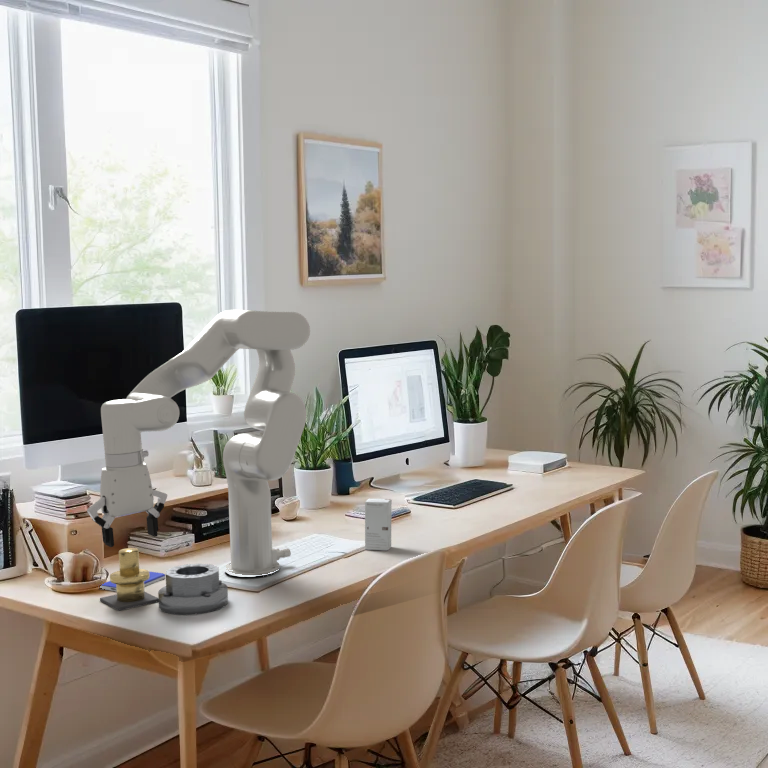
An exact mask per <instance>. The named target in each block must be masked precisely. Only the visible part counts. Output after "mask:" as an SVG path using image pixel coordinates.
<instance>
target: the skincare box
mask: <svg viewBox="0 0 768 768" xmlns="http://www.w3.org/2000/svg"><path fill="white" fill-rule="evenodd" d="M392 500H393V499H391V498H389V499H388V498H370V497H369V498H368V499H366V500H365V502H364V550H367V551H368V550H369V551H370V550H371V551H385V552H386V551H389V550H390V549H391V547H392Z"/></svg>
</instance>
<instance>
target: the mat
mask: <svg viewBox="0 0 768 768" xmlns="http://www.w3.org/2000/svg"><path fill="white" fill-rule="evenodd" d="M144 594H145V597H144V598H143V599H142V600H139V601H135V602H120V601H118V600H117V593H116V594H113V595H108V596H104V597H103V596H102V597H99V601H100V602H102V603H104V604H105V605H107V606H109V607H111V608H112V609H115V610H116V611H123V610H127V609H128V610H129V609H132V608H137V607H141V606H145V605H146V606H147V605H150V604H153V603H159V598H158V597H157V596H155V595H152V594H151V593H148V592H147V591H144Z"/></svg>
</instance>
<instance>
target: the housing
mask: <svg viewBox="0 0 768 768" xmlns="http://www.w3.org/2000/svg"><path fill="white" fill-rule="evenodd" d="M219 570H220V568H219V566H217V565H214V564H212V563H211V564H210V563H209V564H208V563H187V564H181V565H177V566H173V567H170V568H169V569H166V571H165V586H163V587H161V588H160V589H158V593H157V595H158V597H157V598H159V602H158V609H159V610H160V611H161V612H164V613H166V614H171V615H179V616H185V615H186V616H187V615H188V616H189V615H190V616H191V615H201V614H207V613H212V612H215V611H218V610H220V609H222V608H224V607H226V606H227V605H228V603H229V591H228V590H229V589H228V585H227V584H226V583H224V582H222V580H220V574H219V573H220V571H219Z"/></svg>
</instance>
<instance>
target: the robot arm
mask: <svg viewBox="0 0 768 768" xmlns="http://www.w3.org/2000/svg"><path fill="white" fill-rule="evenodd" d="M310 335H311V327H310V323H309V322H308V319H307V318H306V317H305V316H304V315H303V314H301V313H299V312H295V311H268V310H267V311H264V310H252V309H251V310H248V309H241V310H240V309H228V310H224V311H222V312H220V313H218V314H217V315H216V316H215V317H214V318H213V319H212V320H211V321H210V322H209V323H208V324H207V325H206V326H205V327H204V328H203V329H202V331H201V332H200V333H198V335H197V336H196V337H195V338H194V339H193V340H192V341H191V342H190V343H189V344H188V346H186V347H185V348H184V349H183V350H182V352H180V353H178V354H177V355H175V356H174V357H172V358H170V359H168V361H166V362H165V363H163V364H161V365H160V366H158V367H157V368H155V369H154V370H153V371H151V372H150V373H148V374H147V375H146V376H145V377H144V378H143V379H142V380H140V382H139V383H138V384H137V385H136V386H135V387H134V388H133V389H132V391H130V393H129V394H128V395H127V396H126V398H122V399H113V400H109V401H105V402H104V403H102V405H101V407H100V417H101V427H102V437H103V447H104V450H103V451H104V459H105V467H103V468H101V474H100V487H99V488H100V491H99V492H100V493H99V495H100V499H98V500H97V501H96V502H95V503H93V504H92V505H91V506H89V507H88V508H87V509H86V511H87V512H86V513H87V514H88V515H89V516H90V518H91V520H92V521H93V522H95V524H97V525H99V526H100V527H101V536H102V542H103V543H104V545H105V546H107V547H109V548H112V547H113V548H114V546H115V539H114V538H115V537H114V528H113V527H111V525H112V523H113V522H114V520H115V519H116V518H120V517H125V516H130V515H133V514H139V513H142V512H146V513H147V516H146V528H147V534H148V535H149V536H151V537H154V538H156V537H158V531H159V521H158V520H159V519H158V518H159V517H160V516H161V515H160V513H161V512H162V510H163V509H164V507H165V504H166V501H167V499H168V494H167V493H165V492H161V491H160V490H156V489H153V485H152V480H151V475H150V472H149V469H148V466H147V463H146V462H145V458H147V457H149V451H148V450H147V449H145V450H144V449H143V443H142V433H145V432H146V433H147V432H149V433H150V432H164V431H168V430H169V429H171V428H173V427H174V426H175V425H176V424H177V422H178V421H179V417H180V407H179V406H178V404H177V402H176V401H174V399H172V397H174V396H175V395H177V394H179V393H180V392H183V391H184V390H187V389H189V388H194V387H196V386H200V385H201V384H204V383H206V382H208V381H210V380H211V379H213V378H214V376H215V375H216V374H217V373H218V372H219V371H220V370H221V368H222V367H223V366H224V365H225V364H226V363H227V362H228V361H229V360H230V359H231V358H232V357H233V355H234V354H235V353H237V352H238V350H241V349H243V350H256V352H257V355H258V369H257V372H256V377H255V378H254V382H253V384H252V388H251V390H250V392H249V396H248V398H247V401H246V404H245V407H244V412H243V417H244V421H245V422H246V424H247V425H248V426H249V427H250V428H253V429H254V430H258V431H262V432H263V434H262V435H260V434H254V433H246V432H245V433H238V434H236V435H233V437H231V438H230V439H229V440H228V441H227V442H226V443H225V446H224V448H223V451H222V461H223V462H222V463H223V467H224V472H225V477H226V483H227V490H228V491H227V492H228V516H229V517H228V518H229V522H228V524H229V547H230V562H229V563H227V564H226V565H225V566H226V568H227V569H226V570H228V571H229V570H233V571H229V572H232V573H235V574H242V575H262V574H268V573H270V572H274V571H276V570H278V569H279V567H280V565H281V564H280V563H279V562H278V561H279V560H280V559H281V558H283V559H284V558H288V557H291V554H292V551H291V549H290V548H289V547H288V548H282V549H279V548H273V530H272V528H273V527H272V496H271V495H272V494H271V489H270V485H269V481H277V480H279V479H281V478H283V477H284V476H285V474H287V472H288V471H289V469H290V468H291V465H292V463H293V460H294V457H295V455H296V451H297V449H298V446H299V443H300V440H301V437H302V435H303V431H304V430H305V426H306V421H307V409H306V405H305V403H304V401H303V399H302V398H301V397H300V395H298V394H297V393H295V392H291V389H292V386H293V383H294V379H295V375H296V364H295V360H294V356H293V353H292V351H293V350H297V349H300V348H302V347H303V346H305V344H306V343H307V341H308V340H309V337H310ZM154 497H156V498H157V502H156V503H155V501H154V499H155V498H154ZM99 510H100V511H101V513H102V514H103V516H102V517H101V516H99V513H98V512H99ZM230 564H231V565H230ZM228 568H229V569H228ZM279 570H280V569H279Z"/></svg>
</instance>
